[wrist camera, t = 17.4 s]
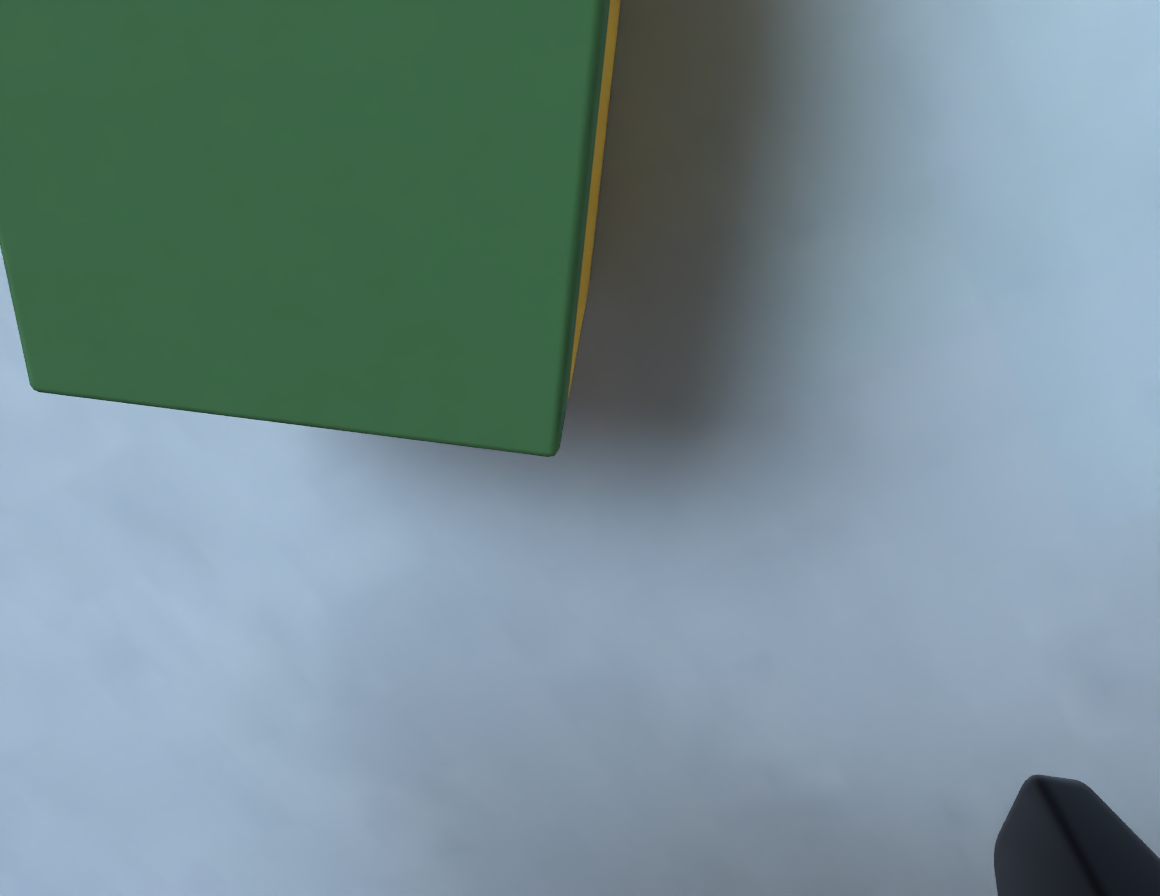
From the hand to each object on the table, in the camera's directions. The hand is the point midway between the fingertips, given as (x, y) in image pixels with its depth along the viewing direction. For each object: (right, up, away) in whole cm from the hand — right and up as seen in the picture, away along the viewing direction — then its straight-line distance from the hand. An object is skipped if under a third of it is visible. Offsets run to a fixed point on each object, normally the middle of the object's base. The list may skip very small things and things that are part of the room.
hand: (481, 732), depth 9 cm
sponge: (-1, +7, +1) cm, 7 cm away
